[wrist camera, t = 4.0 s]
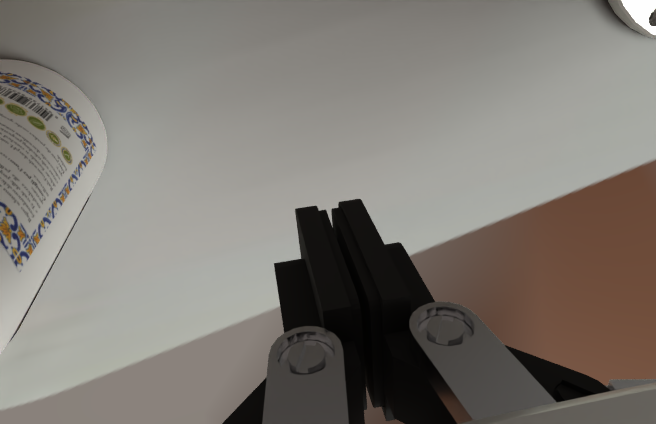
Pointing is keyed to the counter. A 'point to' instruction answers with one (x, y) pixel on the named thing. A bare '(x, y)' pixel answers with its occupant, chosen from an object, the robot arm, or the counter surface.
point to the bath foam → (40, 178)
